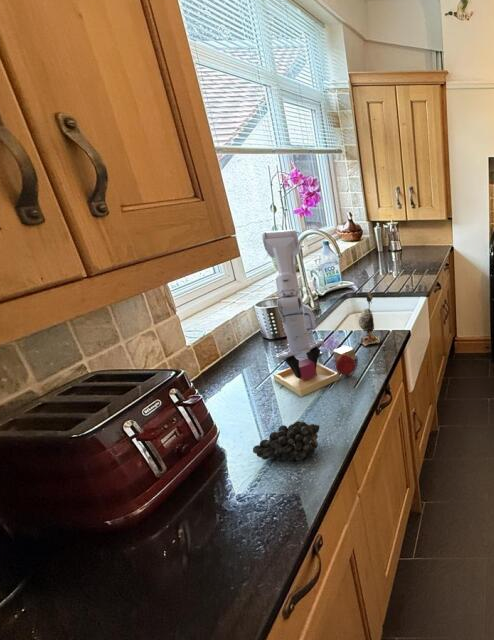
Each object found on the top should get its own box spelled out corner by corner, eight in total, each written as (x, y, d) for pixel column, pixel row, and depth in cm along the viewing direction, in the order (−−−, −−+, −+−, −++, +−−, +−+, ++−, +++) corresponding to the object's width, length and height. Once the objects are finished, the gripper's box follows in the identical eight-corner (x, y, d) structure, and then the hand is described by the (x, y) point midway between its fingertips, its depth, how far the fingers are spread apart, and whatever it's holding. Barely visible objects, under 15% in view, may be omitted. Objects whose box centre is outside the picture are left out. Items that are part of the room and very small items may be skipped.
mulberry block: (296, 376, 126) (293, 363, 124) (309, 370, 129) (306, 358, 128) (303, 380, 123) (300, 367, 122) (317, 374, 127) (314, 362, 125)
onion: (359, 371, 131) (356, 349, 128) (352, 380, 126) (348, 357, 123) (342, 370, 132) (338, 348, 129) (334, 379, 126) (330, 357, 123)
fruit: (240, 432, 87) (311, 425, 89) (259, 421, 96) (324, 414, 97) (244, 471, 88) (315, 463, 89) (263, 456, 96) (327, 449, 97)
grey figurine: (379, 333, 160) (372, 285, 152) (381, 345, 150) (374, 294, 142) (358, 336, 157) (350, 288, 150) (358, 348, 147) (350, 296, 140)
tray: (274, 380, 127) (273, 374, 126) (312, 364, 136) (310, 359, 136) (301, 396, 118) (300, 390, 117) (339, 378, 127) (338, 373, 126)
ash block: (334, 360, 139) (332, 350, 137) (347, 355, 142) (345, 345, 141) (343, 364, 136) (341, 354, 134) (355, 359, 140) (354, 348, 138)
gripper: (279, 345, 114) (289, 387, 119) (326, 329, 124) (333, 368, 129) (267, 340, 118) (278, 380, 123) (314, 324, 128) (322, 362, 133)
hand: (305, 373), depth 126 cm, fingers closed on mulberry block, 4 cm apart
